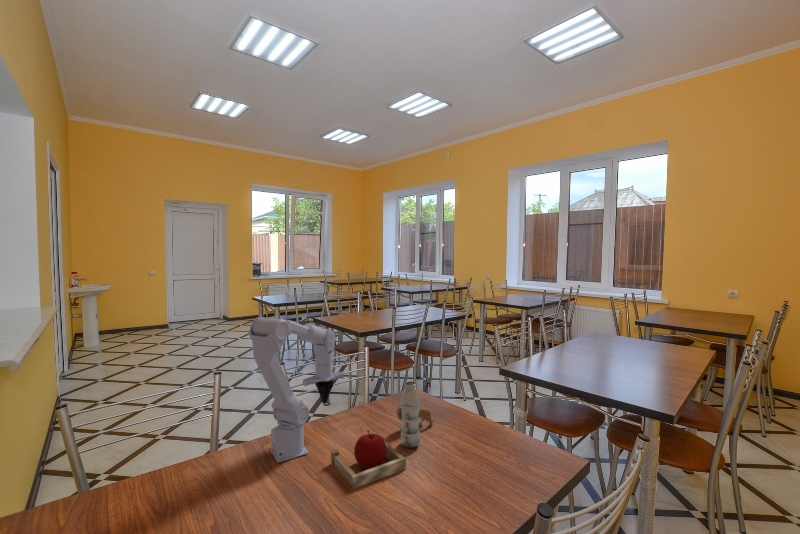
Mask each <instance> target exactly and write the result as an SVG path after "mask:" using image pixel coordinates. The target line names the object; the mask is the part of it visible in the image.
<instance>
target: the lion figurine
mask: <svg viewBox="0 0 800 534" xmlns="http://www.w3.org/2000/svg"><path fill="white" fill-rule="evenodd" d="M396 416H397V419H398V420H399V421H401V422H402V408H401V405H399V406H398V407H397V409H396ZM419 419H420V421H419V426H422V425H423V423H424V422H425V421H426V422H427V423H429V424H428V428H432V427H433V423H434V421H433V420H432V415H431V412H430V410H429V409H428V408H426V407H420V408H419Z"/></svg>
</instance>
